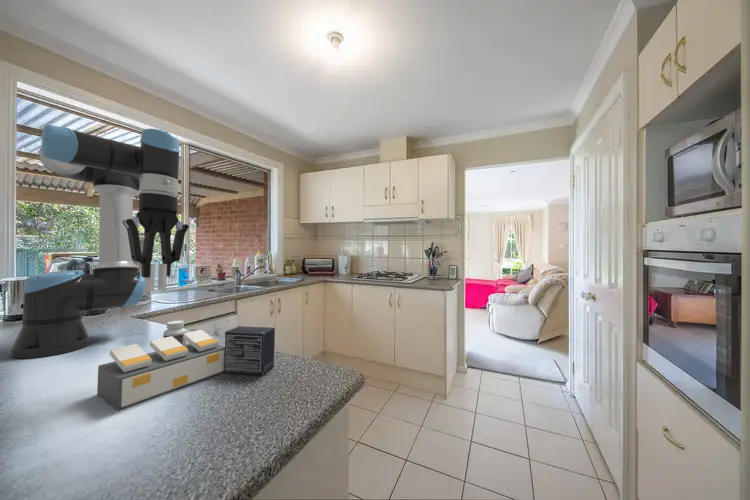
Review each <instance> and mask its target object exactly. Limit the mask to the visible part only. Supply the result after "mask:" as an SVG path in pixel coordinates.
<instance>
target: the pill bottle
mask: <svg viewBox="0 0 750 500" xmlns="http://www.w3.org/2000/svg"><path fill="white" fill-rule="evenodd" d="M184 325H185V321H184V320H173V321H172V320H171V321H168V322H167V323H166V329H167V330H165V331H163V337H162V338H166V337H170V336H173V337H174V338H175V339H176V340H177V341H178V342H179V343H181V344H182V345H185V344H187V341H186V340H185V339H184V338H183V335H184V333H187V329H186V328H184Z"/></svg>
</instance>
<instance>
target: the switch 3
mask: <svg viewBox="0 0 750 500" xmlns="http://www.w3.org/2000/svg"><path fill="white" fill-rule="evenodd" d="M183 338H184V339H185V340H186V343H187V344H189V343H190V344H191V345H192V346H193V347H194V348H195V349H197V350H198V351H199V352H200V351H204V350H207V349H211V348H215V347H218V345H219V340H217V339H215V338H214V337H212V336H211V335H210V334H208V333H206V331H204V330H203V329H199V330H194V331H190V332H186V333H184V335H183Z"/></svg>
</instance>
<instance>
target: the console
mask: <svg viewBox="0 0 750 500" xmlns="http://www.w3.org/2000/svg"><path fill="white" fill-rule="evenodd" d="M183 346H185V347H186V348H187V349H188V355H185V356H182V357H178V358H175V359H171V360H167V361H165V360H164V359H163V358H162V357H161V356H160V355H159V354H158V353H157V352H156V351H151V352H149V353H147V354H148V355H149V356H150V358H151V359H152V362H151V365H149V366H146V367H142V368H138V369H135V370H131V371H127V372H123V371H122V369H121V368H120V367H119V366H118V364H117V363H116V362H115V361H111V362H106V363H104V364H100V365H97V366H98V368H97V387H96V388H97V393H96V395H97V396H99V397H100V398H101V399H102V400H103V401H104V402H106V403H108V404H109V405H110V406H111V407H112V408H114V409H115V410H116V411H120V410H123V409H125V408H129V407H131V406H134V405H136V404H140V403H142V402H145V401H148V400H150V399H154V398H157V397H159V396H162V395H164V394H168V393H169V392H172V391H175V390H179V389H181V388H184V387H186V386H190V385H192V384H194V383H197V382H200V381H203V380H206V379H210V378H211V377H212V378H213V377H214V376H217V375H219V374H222V373H224V364H225V363H224V362H225V346H223V345H220V344H218V347H215V348H211V349H207V350H204V351H200V352H199V351H198V350H197V349H195V348H194V347H193V346H192V345H191V344H190V343H186V344H185V345H183Z"/></svg>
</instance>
